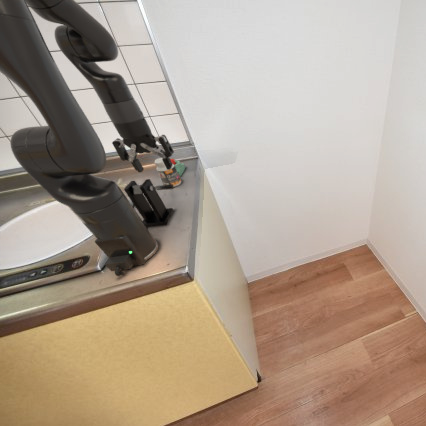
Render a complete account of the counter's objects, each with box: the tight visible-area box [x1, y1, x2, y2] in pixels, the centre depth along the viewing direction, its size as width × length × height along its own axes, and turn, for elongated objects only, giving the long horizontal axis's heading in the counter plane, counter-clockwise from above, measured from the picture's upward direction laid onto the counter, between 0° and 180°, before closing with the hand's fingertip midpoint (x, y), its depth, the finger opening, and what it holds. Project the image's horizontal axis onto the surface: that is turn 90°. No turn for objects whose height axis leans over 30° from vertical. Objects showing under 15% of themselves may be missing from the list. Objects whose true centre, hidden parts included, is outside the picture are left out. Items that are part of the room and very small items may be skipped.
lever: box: [132, 184, 175, 195], centre depth 73 cm, size 15×5×2 cm, turn 8°
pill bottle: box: [154, 157, 182, 188], centre depth 86 cm, size 6×6×10 cm
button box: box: [174, 159, 186, 177], centre depth 95 cm, size 7×6×4 cm
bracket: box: [123, 178, 175, 228], centre depth 69 cm, size 7×7×13 cm
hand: (155, 169), depth 75 cm, fingers open, 8 cm apart
